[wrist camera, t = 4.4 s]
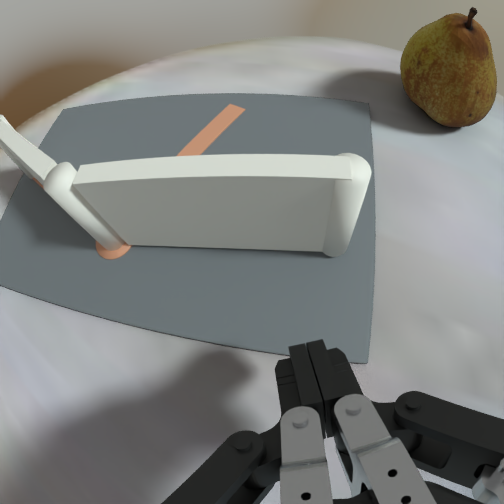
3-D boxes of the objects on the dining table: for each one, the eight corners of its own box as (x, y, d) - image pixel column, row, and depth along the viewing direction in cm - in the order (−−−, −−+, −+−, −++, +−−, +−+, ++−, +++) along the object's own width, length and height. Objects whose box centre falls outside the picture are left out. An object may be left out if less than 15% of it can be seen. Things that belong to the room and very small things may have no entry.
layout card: (-19, 278, 22) (-22, 276, 21) (64, 111, 30) (62, 108, 29) (366, 363, 16) (367, 363, 16) (368, 106, 24) (368, 102, 24)
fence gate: (127, 248, 20) (70, 189, 14) (133, 224, 21) (82, 160, 15) (348, 257, 18) (374, 186, 12) (347, 229, 19) (369, 152, 13)
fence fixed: (135, 236, 21) (78, 168, 14) (117, 259, 21) (52, 198, 14) (40, 162, 27) (0, 113, 20) (28, 177, 26) (-15, 129, 19)
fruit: (430, 73, 26) (453, -22, 15) (493, 128, 23) (537, 31, 12) (374, 88, 25) (390, -27, 15) (443, 154, 22) (494, 30, 11)
